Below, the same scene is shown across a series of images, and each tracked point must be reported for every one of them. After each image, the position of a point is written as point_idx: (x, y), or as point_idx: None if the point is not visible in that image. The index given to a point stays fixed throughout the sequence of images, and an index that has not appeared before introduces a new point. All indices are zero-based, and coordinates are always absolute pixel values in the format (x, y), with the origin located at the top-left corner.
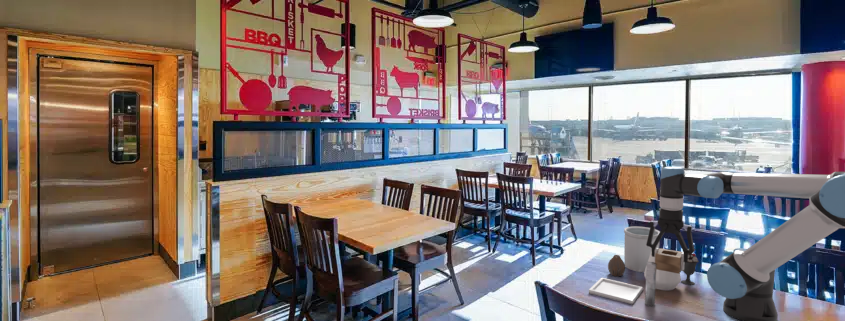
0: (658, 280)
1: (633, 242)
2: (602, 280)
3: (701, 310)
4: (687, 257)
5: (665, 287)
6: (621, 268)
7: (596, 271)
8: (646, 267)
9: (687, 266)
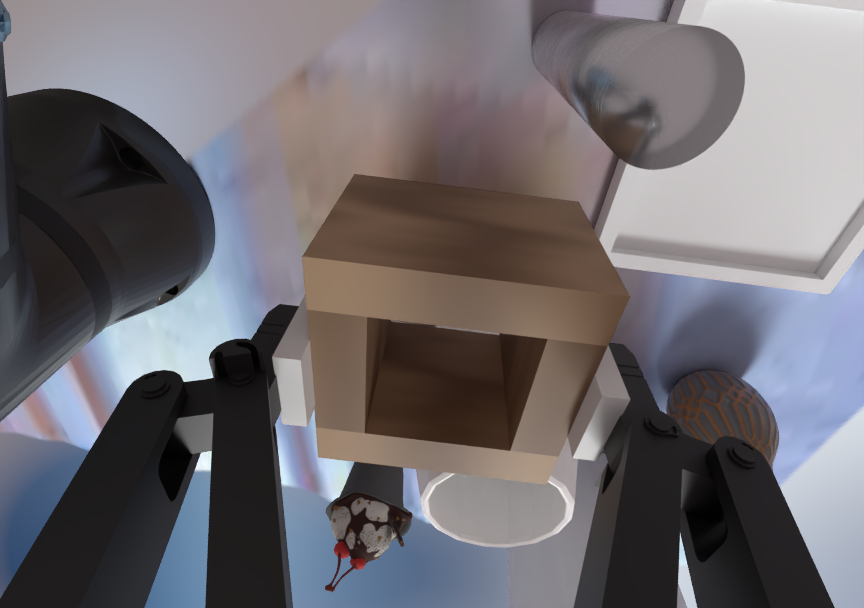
0: None
1: None
2: (826, 264)
3: (288, 132)
4: (251, 339)
5: None
6: (701, 403)
7: (803, 389)
8: None
9: (377, 475)
